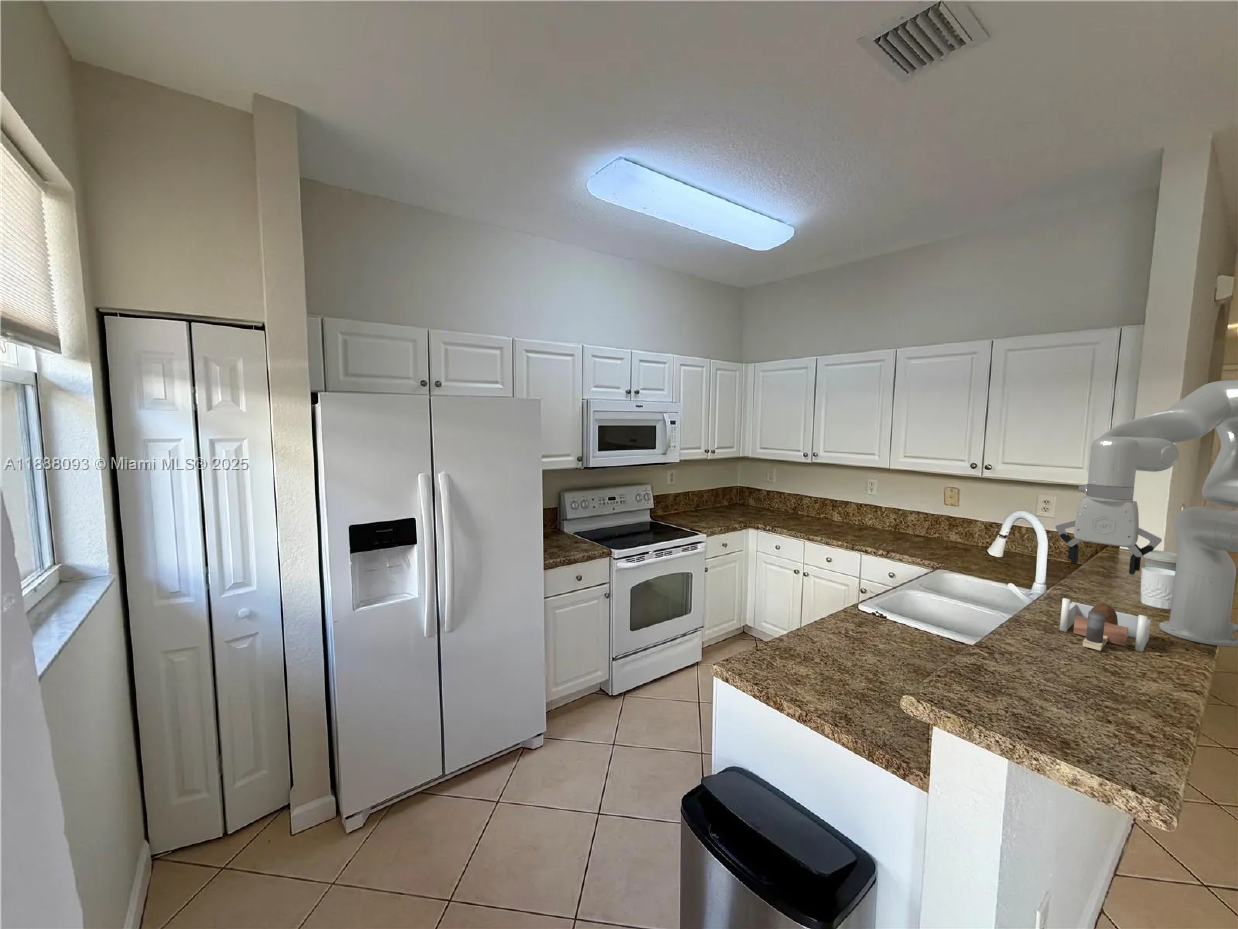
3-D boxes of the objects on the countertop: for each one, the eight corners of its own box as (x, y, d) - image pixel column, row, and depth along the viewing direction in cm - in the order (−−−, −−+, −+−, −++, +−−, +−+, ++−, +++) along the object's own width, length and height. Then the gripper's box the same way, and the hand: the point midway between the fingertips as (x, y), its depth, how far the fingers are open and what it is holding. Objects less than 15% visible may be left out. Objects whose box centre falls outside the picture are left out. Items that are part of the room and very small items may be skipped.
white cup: (1168, 603, 147) (1172, 569, 146) (1184, 612, 140) (1188, 577, 139) (1132, 598, 150) (1136, 565, 149) (1146, 607, 143) (1150, 572, 142)
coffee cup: (1173, 589, 160) (1178, 552, 158) (1184, 597, 152) (1189, 558, 151) (1135, 584, 164) (1139, 548, 163) (1144, 591, 157) (1149, 553, 156)
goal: (1143, 652, 114) (1147, 617, 113) (1058, 630, 125) (1062, 598, 125) (1149, 640, 121) (1153, 607, 120) (1069, 620, 132) (1072, 590, 131)
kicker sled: (1119, 655, 111) (1122, 622, 110) (1065, 641, 118) (1068, 609, 117) (1126, 644, 117) (1130, 612, 116) (1074, 631, 124) (1077, 601, 123)
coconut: (1121, 642, 119) (1125, 609, 118) (1095, 639, 120) (1098, 606, 120) (1106, 633, 124) (1110, 601, 123) (1081, 630, 125) (1084, 599, 125)
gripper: (1055, 490, 118) (1049, 562, 119) (1164, 499, 104) (1155, 581, 106) (1063, 487, 123) (1056, 557, 124) (1168, 496, 109) (1159, 574, 111)
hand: (1102, 568), depth 115 cm, fingers open, 9 cm apart
